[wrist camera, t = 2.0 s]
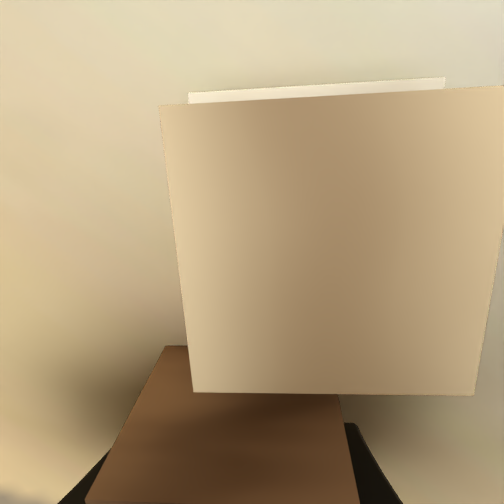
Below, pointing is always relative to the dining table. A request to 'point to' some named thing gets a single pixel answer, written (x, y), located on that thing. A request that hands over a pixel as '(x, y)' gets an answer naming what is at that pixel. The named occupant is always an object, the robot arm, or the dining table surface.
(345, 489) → the walnut block
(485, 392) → the dining table surface
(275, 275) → the maple base
